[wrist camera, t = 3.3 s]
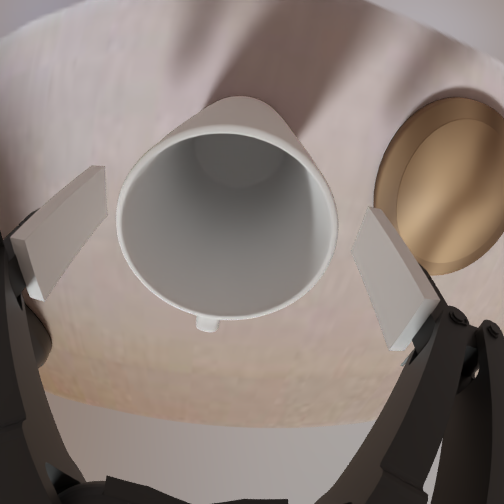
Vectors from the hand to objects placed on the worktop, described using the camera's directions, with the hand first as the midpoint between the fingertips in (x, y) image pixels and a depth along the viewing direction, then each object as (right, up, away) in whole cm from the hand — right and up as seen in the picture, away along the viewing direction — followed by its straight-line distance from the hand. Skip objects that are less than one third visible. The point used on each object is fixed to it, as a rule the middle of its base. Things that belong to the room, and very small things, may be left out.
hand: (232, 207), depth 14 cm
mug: (0, +4, +6) cm, 7 cm away
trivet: (+18, +3, +6) cm, 19 cm away
